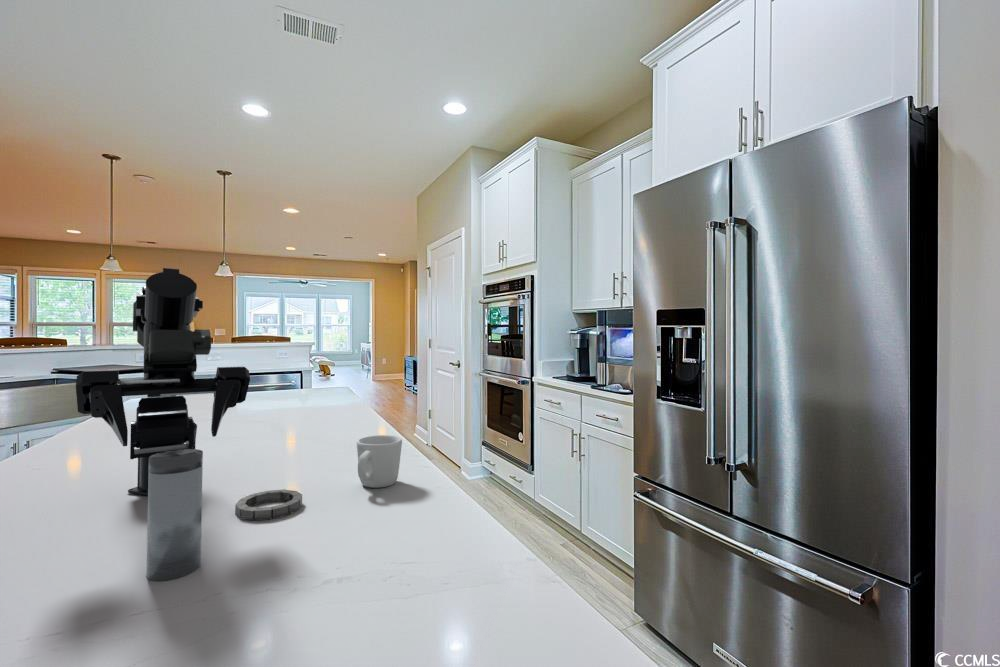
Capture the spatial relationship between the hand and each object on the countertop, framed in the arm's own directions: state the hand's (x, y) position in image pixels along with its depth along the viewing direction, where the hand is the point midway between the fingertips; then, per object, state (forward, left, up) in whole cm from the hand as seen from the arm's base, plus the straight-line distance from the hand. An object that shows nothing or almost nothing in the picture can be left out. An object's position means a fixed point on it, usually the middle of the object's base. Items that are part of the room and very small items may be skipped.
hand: (172, 439), depth 58 cm
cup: (+13, +27, -13) cm, 33 cm away
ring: (+3, +13, -13) cm, 19 cm away
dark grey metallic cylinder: (+6, -5, -13) cm, 15 cm away
